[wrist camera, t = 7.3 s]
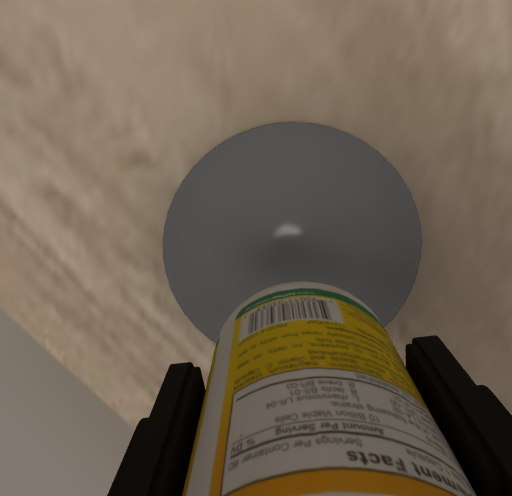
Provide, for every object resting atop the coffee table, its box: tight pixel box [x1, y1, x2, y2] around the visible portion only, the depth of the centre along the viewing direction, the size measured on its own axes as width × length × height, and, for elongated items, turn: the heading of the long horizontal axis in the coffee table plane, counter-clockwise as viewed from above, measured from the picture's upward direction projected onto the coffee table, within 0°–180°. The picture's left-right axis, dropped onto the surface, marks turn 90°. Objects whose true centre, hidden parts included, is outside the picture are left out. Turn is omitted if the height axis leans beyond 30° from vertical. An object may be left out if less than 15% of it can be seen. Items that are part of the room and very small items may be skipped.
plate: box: [163, 122, 422, 344], centre depth 20 cm, size 14×14×1 cm
